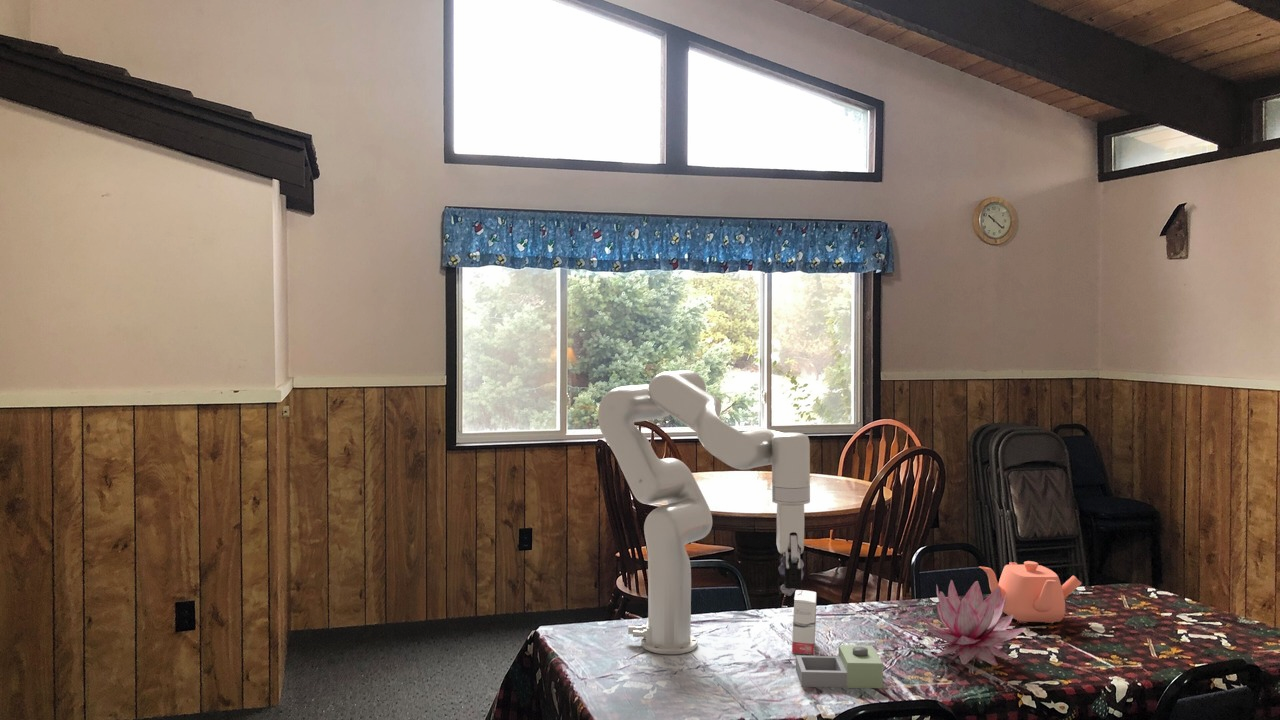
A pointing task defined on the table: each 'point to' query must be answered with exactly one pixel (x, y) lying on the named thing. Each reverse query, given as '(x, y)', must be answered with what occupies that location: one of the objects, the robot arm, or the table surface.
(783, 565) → the seashell
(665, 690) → the table surface
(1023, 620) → the teapot
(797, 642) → the ink box
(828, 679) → the green and grey box
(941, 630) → the decorative flower
